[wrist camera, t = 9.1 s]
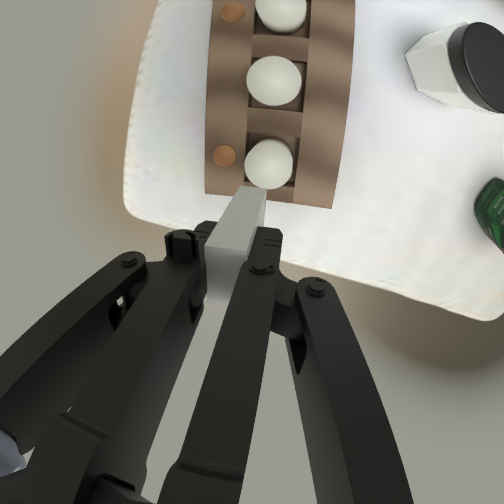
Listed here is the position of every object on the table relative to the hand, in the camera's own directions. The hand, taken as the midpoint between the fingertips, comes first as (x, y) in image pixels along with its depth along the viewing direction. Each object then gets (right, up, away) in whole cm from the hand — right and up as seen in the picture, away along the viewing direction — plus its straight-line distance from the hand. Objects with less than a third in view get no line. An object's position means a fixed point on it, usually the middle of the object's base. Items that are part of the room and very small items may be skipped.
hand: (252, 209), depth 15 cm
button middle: (+2, +14, +7) cm, 16 cm away
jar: (+21, +18, +4) cm, 28 cm away
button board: (+3, +15, +9) cm, 18 cm away
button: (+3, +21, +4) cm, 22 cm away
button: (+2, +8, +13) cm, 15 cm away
